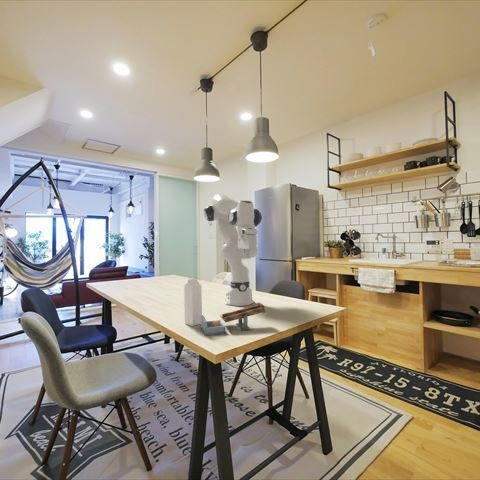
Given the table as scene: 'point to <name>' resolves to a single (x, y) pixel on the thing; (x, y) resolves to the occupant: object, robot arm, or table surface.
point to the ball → (215, 324)
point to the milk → (193, 302)
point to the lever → (243, 313)
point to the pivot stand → (243, 324)
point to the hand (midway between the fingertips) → (246, 258)
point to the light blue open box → (208, 328)
